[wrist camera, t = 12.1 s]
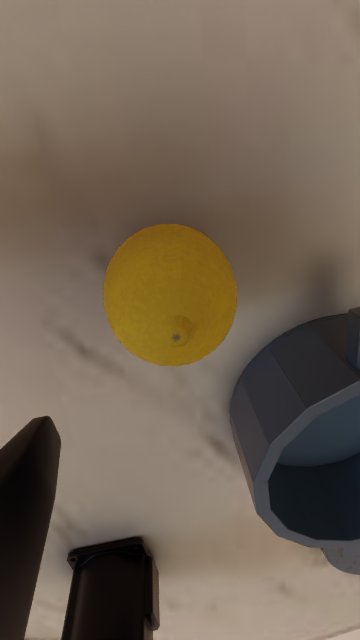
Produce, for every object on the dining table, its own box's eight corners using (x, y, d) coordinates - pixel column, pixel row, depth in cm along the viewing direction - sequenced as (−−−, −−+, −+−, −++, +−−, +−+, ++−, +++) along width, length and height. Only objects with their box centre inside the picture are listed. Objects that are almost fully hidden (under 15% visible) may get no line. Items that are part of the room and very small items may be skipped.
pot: (243, 504, 27) (265, 587, 22) (211, 299, 19) (237, 353, 13) (402, 471, 27) (464, 547, 22) (444, 250, 19) (562, 286, 13)
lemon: (122, 199, 16) (102, 231, 9) (229, 226, 17) (289, 274, 10) (105, 301, 18) (77, 393, 11) (200, 319, 19) (231, 414, 12)
